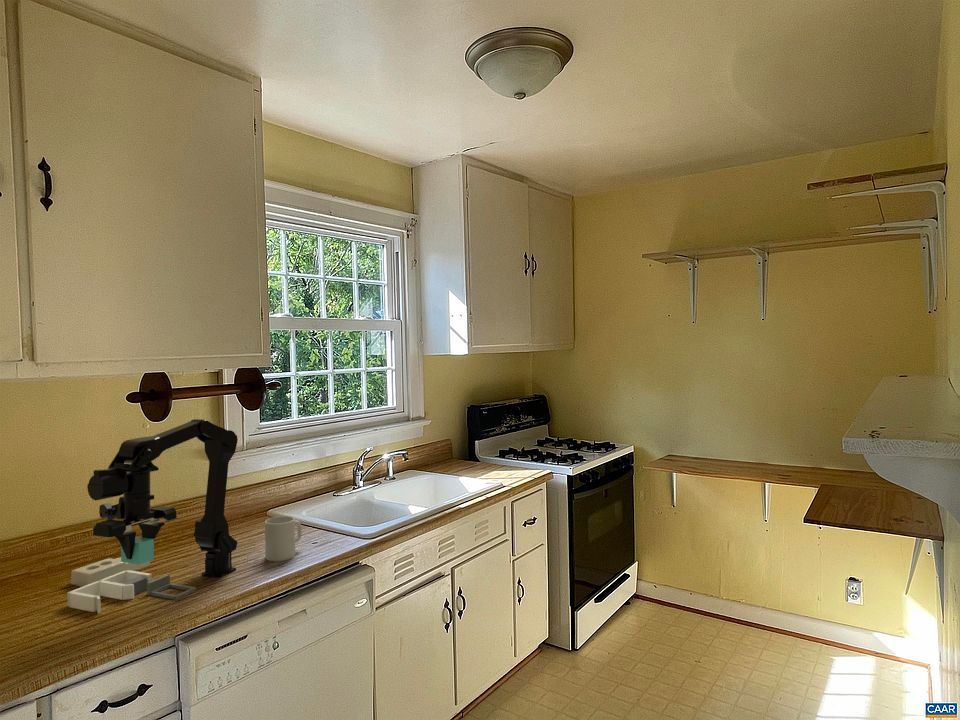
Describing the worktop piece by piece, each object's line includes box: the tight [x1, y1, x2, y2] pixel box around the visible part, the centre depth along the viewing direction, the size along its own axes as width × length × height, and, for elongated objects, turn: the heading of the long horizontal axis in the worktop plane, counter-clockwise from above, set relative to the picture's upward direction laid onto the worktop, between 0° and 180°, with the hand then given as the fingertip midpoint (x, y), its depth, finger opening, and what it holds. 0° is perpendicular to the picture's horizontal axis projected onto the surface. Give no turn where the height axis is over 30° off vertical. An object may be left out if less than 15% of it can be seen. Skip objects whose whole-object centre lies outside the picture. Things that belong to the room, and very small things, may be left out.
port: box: [66, 570, 153, 615], centre depth 154 cm, size 11×16×4 cm
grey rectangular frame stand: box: [146, 574, 197, 601], centre depth 157 cm, size 10×6×3 cm, turn 68°
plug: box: [120, 536, 155, 565], centre depth 149 cm, size 7×4×5 cm, turn 69°
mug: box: [264, 515, 303, 562], centre depth 184 cm, size 12×8×11 cm
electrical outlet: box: [70, 556, 151, 587], centre depth 171 cm, size 7×4×18 cm
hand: (137, 556), depth 148 cm, fingers closed on plug, 4 cm apart
